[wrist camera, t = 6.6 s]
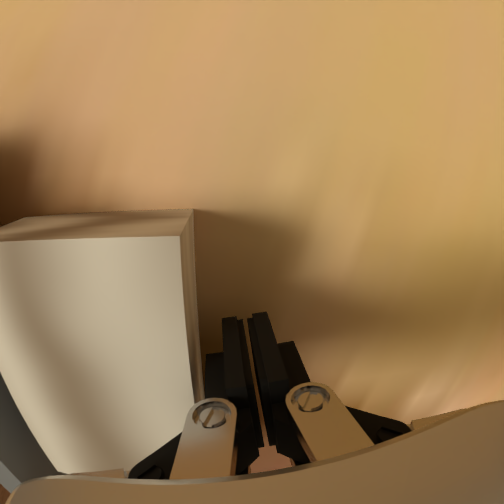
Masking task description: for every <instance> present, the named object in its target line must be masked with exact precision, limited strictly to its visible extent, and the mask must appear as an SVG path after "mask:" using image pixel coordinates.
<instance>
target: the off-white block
mask: <svg viewBox="0 0 504 504" xmlns="http://www.w3.org/2000/svg"><path fill="white" fill-rule="evenodd" d="M0 372H1V375H2V377H3V379H4V381H5V383H6V385H7V387H8V390H9V392H10V394H11V396H12V398H13V400H14V402H15V403H16V405H17V407H18V409H19V411H20V413H21V415H22V416H23V418H24V420H25V422H26V423H27V425H28V427H29V429H30V430H31V432H32V434H33V435H34V437H35V439H36V440H37V442H38V443H39V445H40V446H41V448H42V449H43V451H44V453H45V454H46V455H47V457H48V458H49V460H50V461H51V463H52V464H53V466H54V467H55V468H56V470H57V471H58V472H62V473H66V474H71V473H82V472H94V471H105V470H113V469H121V468H124V470H125V471H130V470H131V469H132V468H133V467H134V466H135V465H136V464H137V463H139V462H140V461H142V460H143V459H145V458H146V457H148V456H149V455H151V454H152V453H153V452H155V451H156V450H158V449H159V448H160V447H162V446H163V445H165V444H166V443H167V442H169V441H170V440H171V439H173V438H174V437H176V436H177V435H178V434H180V433H181V432H182V431H183V428H184V424H185V421H186V417H187V414H188V412H189V410H190V408H191V407H192V406H193V405H194V404H196V403H198V402H199V401H201V400H205V395H204V385H203V375H202V363H201V352H200V339H199V325H198V310H197V293H196V273H195V248H194V211H193V209H168V210H138V211H114V212H95V213H77V214H62V215H48V216H35V217H25V218H22V219H19V220H17V221H14V222H12V223H9V224H7V225H4V226H2V227H0Z"/></svg>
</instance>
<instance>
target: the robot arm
mask: <svg viewBox="0 0 504 504" xmlns="http://www.w3.org/2000/svg"><path fill="white" fill-rule="evenodd" d="M252 317H253V318H247V321H248V328H249V334H250V341H251V347H252V354H253V361H254V367H255V374H256V379H257V385H258V390H259V395H260V400H261V406H262V411H263V416H264V421H265V426H266V431H267V436H268V441H269V446H272V445H276V449H277V453H280V454H282V455H285V456H287V457H289V458H290V461H291V465H292V467H289V468H283V469H278V470H272V471H266V472H259V473H252V474H251V467H250V464H251V463H252V462H254V461H255V460H256V459H257V458H258V457H259V450H258V448H260V447H264V442H263V436H262V430H261V425H260V419H259V413H258V407H257V401H256V395H255V389H254V383H253V378H252V372H251V366H250V360H249V354H248V348H247V343H246V337H245V331H244V325H243V319H240V320H237V317H236V316H235V317H228V318H222V331H223V352H221V353H213V354H206V365H205V400H201V401H199V402H198V403H196V404H194V405H193V406H192V407H191V408H190V410H189V412H188V414H187V417H186V421H185V424H184V428H183V431H182V432H181V433H180V434H178V435H177V436H176V437H174V438H173V439H171V440H170V441H169V442H167V443H166V444H165V445H163V446H162V447H160V448H159V449H158V450H156V451H155V452H153V453H152V454H151V455H149V456H148V457H146V458H145V459H143V460H142V461H140V462H139V463H137V464H136V465H135V466H134V467H133V468H132V469H131V470H130V471H125V470H124V468H121V469H113V470H105V471H94V472H82V473H71V474H67V475H57V476H46V477H40V478H34V479H31V480H28V481H25V482H23V483H21V484H20V485H18V486H17V487H16V488H15V489H14V490H13V492H12V493H11V494H10V496H9V498H8V499H7V501H6V503H5V504H504V400H499V401H494V402H488V403H484V404H480V405H477V406H473V407H470V408H468V409H459V410H456V411H452V412H448V413H444V414H440V415H435V416H431V417H426V418H422V419H417V420H412V421H411V424H407V425H406V424H405V423H403V422H400V421H397V420H393V419H389V418H386V417H382V416H378V415H375V414H371V413H368V412H364V411H361V410H357V409H354V408H351V407H347V406H344V404H343V403H342V402H341V400H340V399H339V398H338V396H337V395H336V394H335V392H334V391H333V390H332V389H331V388H330V387H329V386H327V385H324V384H322V383H317V382H310V379H309V377H308V375H307V372H306V370H305V367H304V365H303V363H302V360H301V358H300V355H299V353H298V350H297V348H296V346H295V343H294V341H290V342H284V343H279V344H277V342H276V339H275V336H274V333H273V330H272V326H271V323H270V320H269V317H268V314H267V312H261V313H254V314H252Z"/></svg>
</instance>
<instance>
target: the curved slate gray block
mask: <svg viewBox="0 0 504 504" xmlns="http://www.w3.org/2000/svg"><path fill="white" fill-rule="evenodd" d="M57 475H67V474H66V473H62V472H58V471H57V470H56V468H55V467H54V466H53V464H52V463H51V461H50V460H49V458H48V457H47V455H46V454H45V453H44V451H43V449H42V448H41V446H40V445H39V443H38V442H37V440H36V439H35V437H34V435H33V434H32V432H31V430H30V429H29V427H28V425H27V423H26V422H25V420H24V418H23V416H22V415H21V413H20V411H19V409H18V407H17V405H16V403H15V402H14V400H13V398H12V396H11V394H10V392H9V390H8V387H7V385H6V383H5V381H4V379H3V377H2V375H1V372H0V484H1V485H2V486H3V487H4V488H5V489H6V490H8V491H9V492H10V493H12V492H13V490H14V489H15V488H16V487H17V486H18V485H20V484H21V483H23V482H25V481H28V480H31V479H34V478H40V477H46V476H57Z"/></svg>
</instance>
